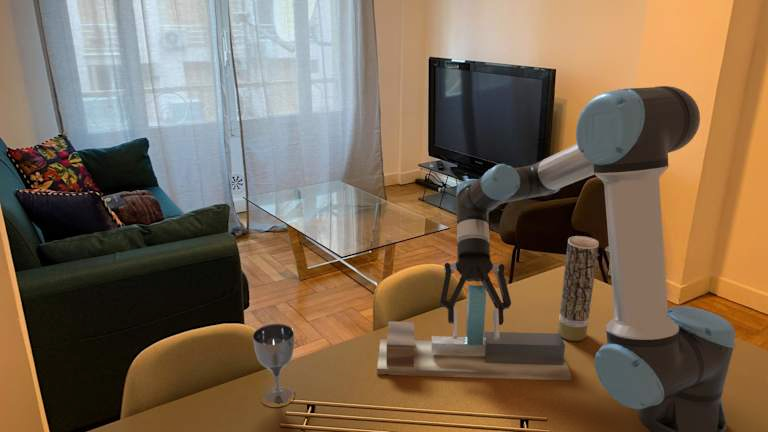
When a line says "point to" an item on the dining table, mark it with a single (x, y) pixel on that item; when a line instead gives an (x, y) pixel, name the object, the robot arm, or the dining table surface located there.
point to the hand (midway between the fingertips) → (476, 338)
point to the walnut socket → (400, 344)
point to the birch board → (467, 366)
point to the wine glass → (275, 355)
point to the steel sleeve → (524, 348)
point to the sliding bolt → (474, 329)
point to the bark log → (577, 287)
